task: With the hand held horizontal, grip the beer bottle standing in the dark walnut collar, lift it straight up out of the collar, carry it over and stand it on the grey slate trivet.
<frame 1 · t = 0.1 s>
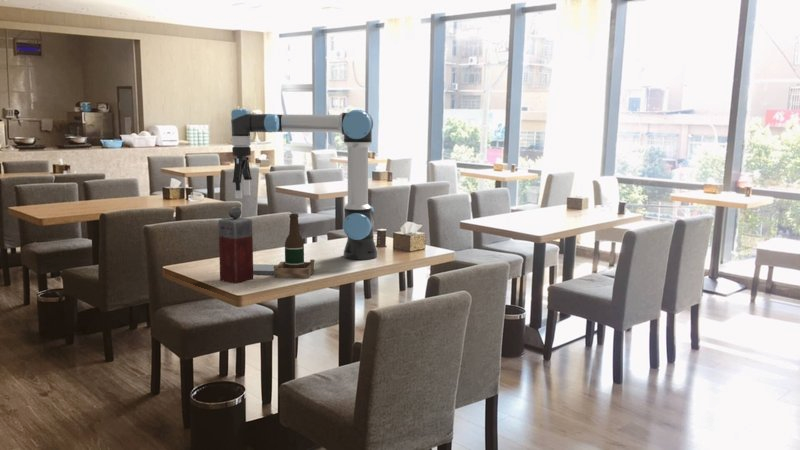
hand: (243, 196, 290), 28 cm above the table, tool pointing down, fingers open, 13 cm apart
collar: (294, 273, 270), on the table
beer bottle: (294, 274, 270), on the table
red square bottle: (234, 279, 260), on the table
trivet: (264, 271, 275), on the table
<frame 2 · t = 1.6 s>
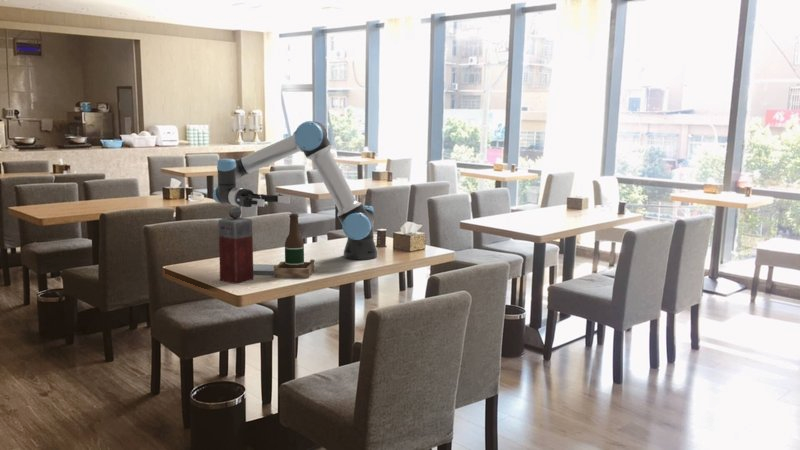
hand: (276, 201, 272), 28 cm above the table, tool horizontal, fingers open, 13 cm apart
nothing on the table moved.
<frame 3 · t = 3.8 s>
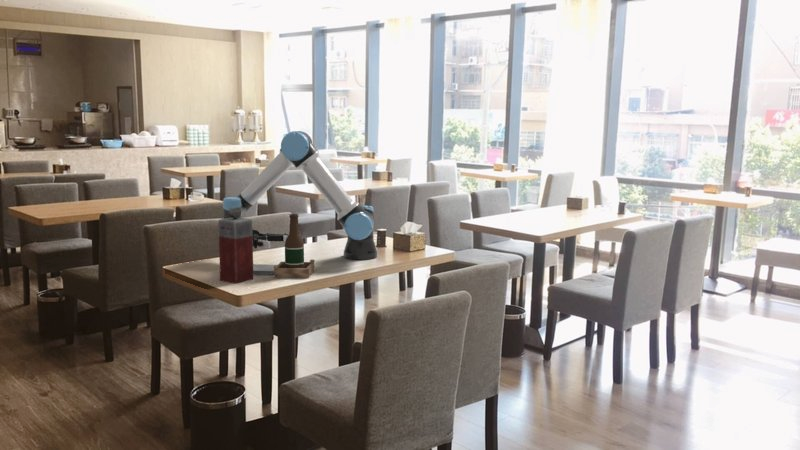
hand: (282, 242, 272), 12 cm above the table, tool horizontal, fingers open, 13 cm apart
nothing on the table moved.
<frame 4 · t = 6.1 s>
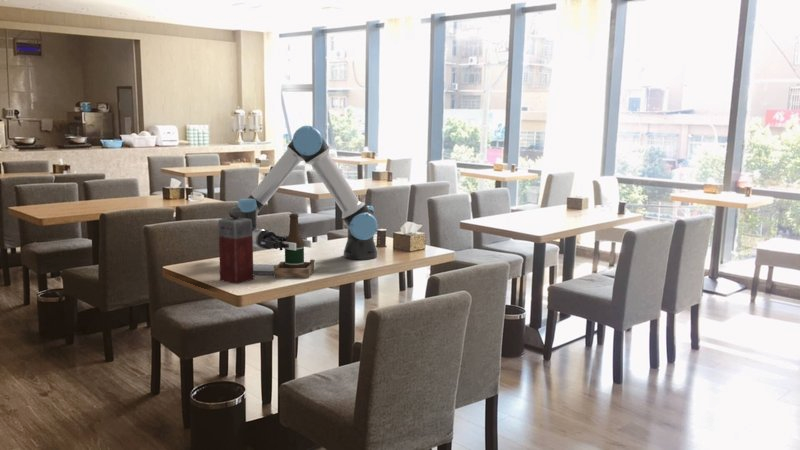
hand: (303, 245, 266), 12 cm above the table, tool horizontal, fingers closed on beer bottle, 7 cm apart
beer bottle: (294, 274, 270), on the table, touching gripper
everything else where it was.
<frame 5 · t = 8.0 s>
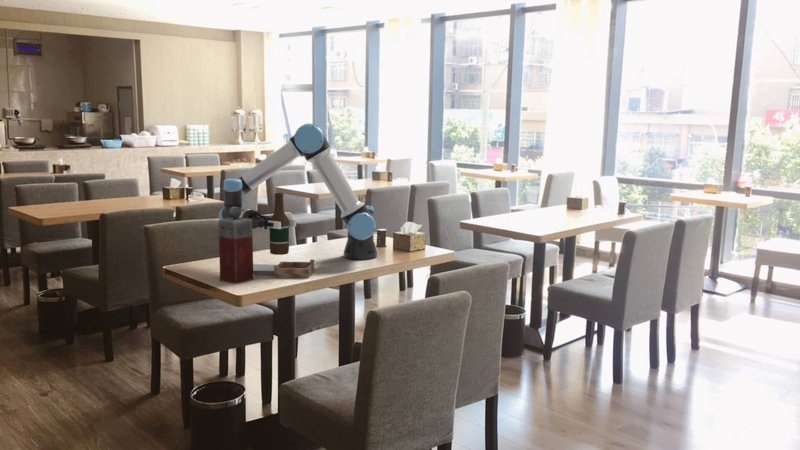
hand: (287, 224, 266), 20 cm above the table, tool horizontal, fingers closed on beer bottle, 7 cm apart
beer bottle: (279, 253, 271), point 8 cm above the table, touching gripper
everything else where it was.
when the fingers open (15 cm above the table, at t = 9.8 s): beer bottle drops 1 cm, resting on trivet.
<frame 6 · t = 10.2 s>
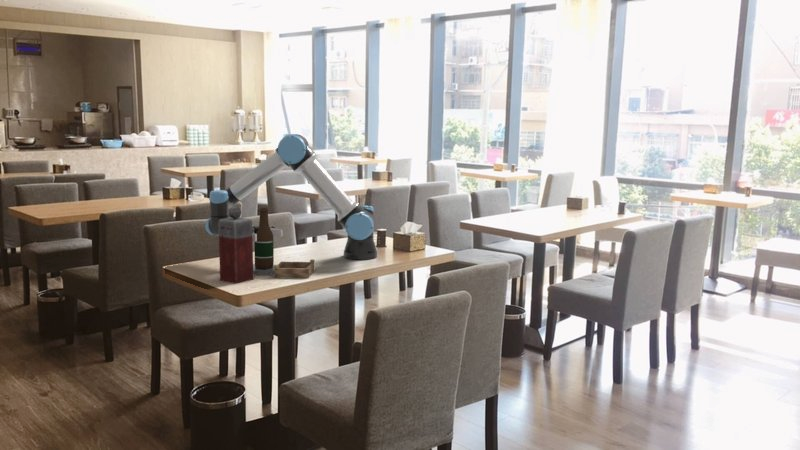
hand: (269, 235, 270), 15 cm above the table, tool horizontal, fingers open, 13 cm apart
beer bottle: (264, 267, 275), point 1 cm above the table, touching trivet
everything else where it was.
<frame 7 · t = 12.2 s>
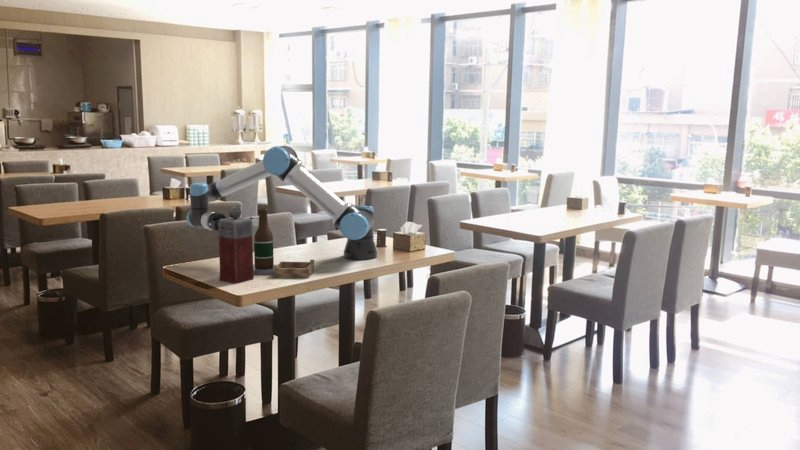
hand: (247, 225, 278), 18 cm above the table, tool horizontal, fingers open, 13 cm apart
nothing on the table moved.
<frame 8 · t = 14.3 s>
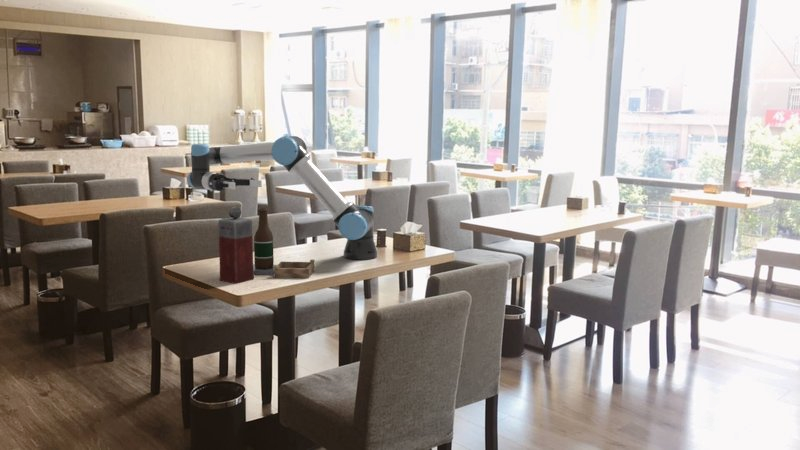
hand: (248, 184, 278), 34 cm above the table, tool horizontal, fingers open, 13 cm apart
nothing on the table moved.
at the end: beer bottle 0.1 cm from the trivet (horizontally); beer bottle tilted 0°; the gripper is holding nothing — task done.
